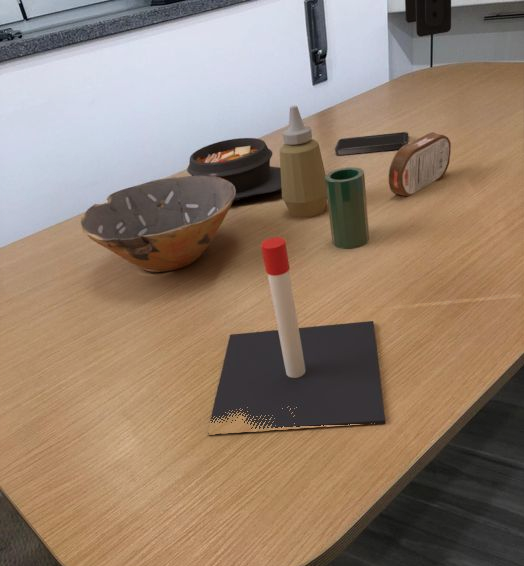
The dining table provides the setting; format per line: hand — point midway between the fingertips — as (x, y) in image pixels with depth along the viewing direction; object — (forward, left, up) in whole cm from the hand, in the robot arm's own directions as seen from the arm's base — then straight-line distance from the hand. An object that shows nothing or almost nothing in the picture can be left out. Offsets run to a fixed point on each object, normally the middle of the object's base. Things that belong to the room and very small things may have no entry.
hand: (426, 26), depth 62 cm
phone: (+4, -60, -30) cm, 67 cm away
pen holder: (+10, -14, -30) cm, 35 cm away
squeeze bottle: (+17, -28, -31) cm, 45 cm away
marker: (+17, +18, -30) cm, 39 cm away
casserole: (+32, -44, -31) cm, 62 cm away
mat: (+17, +18, -30) cm, 39 cm away
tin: (-3, -33, -31) cm, 45 cm away
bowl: (+39, -16, -31) cm, 52 cm away
